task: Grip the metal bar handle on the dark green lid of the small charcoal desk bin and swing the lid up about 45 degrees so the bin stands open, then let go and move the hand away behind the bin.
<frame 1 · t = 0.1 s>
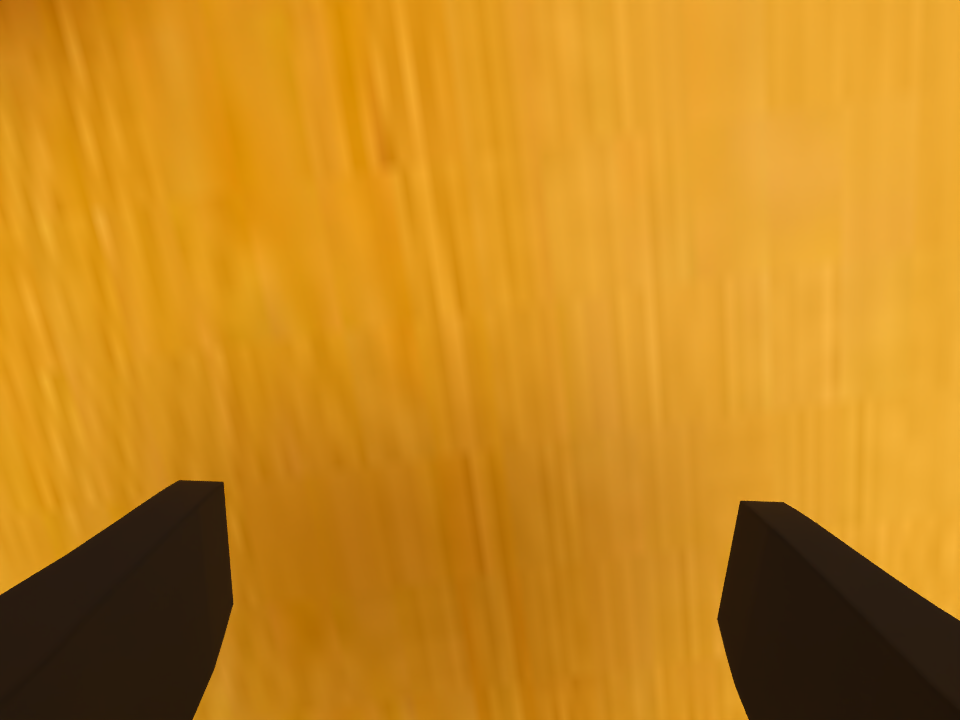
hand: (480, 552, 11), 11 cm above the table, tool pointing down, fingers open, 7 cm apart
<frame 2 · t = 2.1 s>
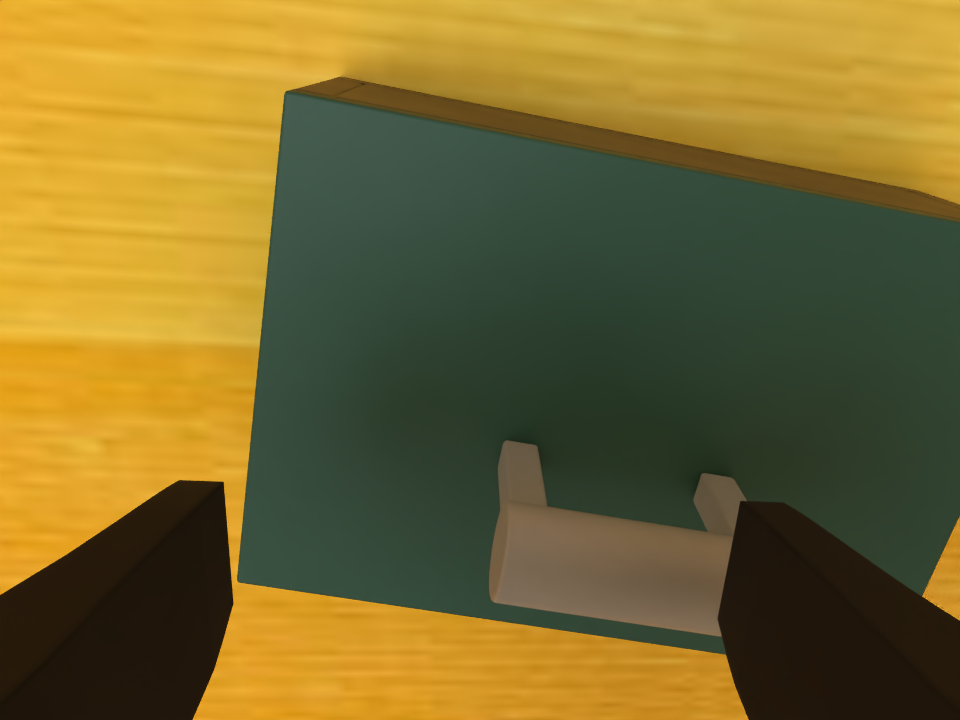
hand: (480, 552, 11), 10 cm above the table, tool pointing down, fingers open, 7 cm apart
desk bin: (591, 318, 21), on the table
bin lid: (646, 472, 14), point 8 cm above the table, hinge at 0.0°
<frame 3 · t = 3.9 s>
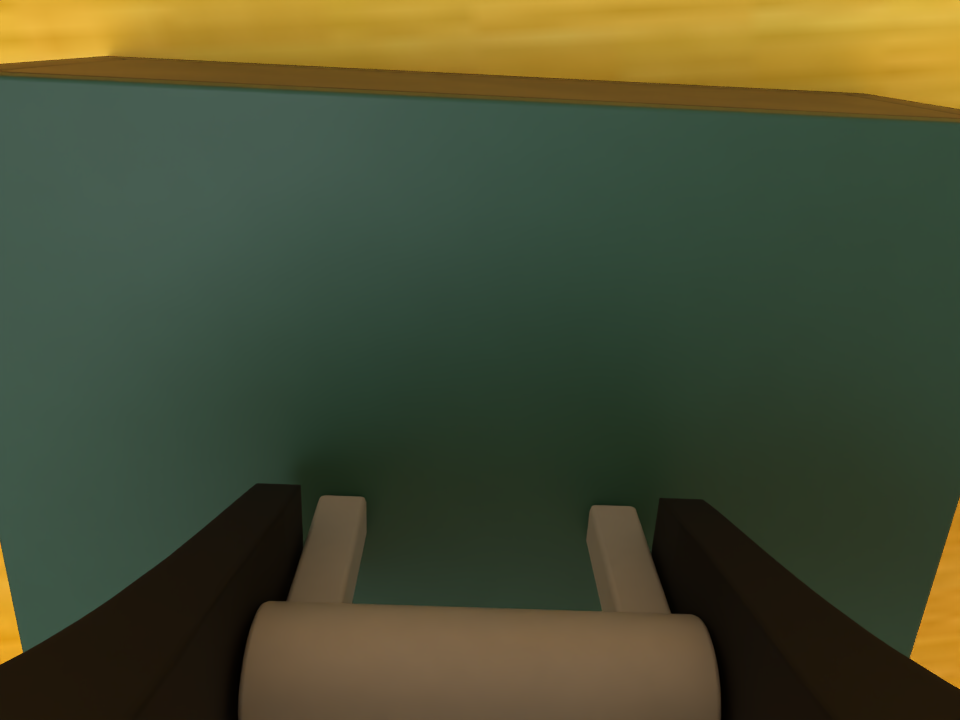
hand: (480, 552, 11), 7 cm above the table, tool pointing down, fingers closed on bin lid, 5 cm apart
desk bin: (478, 311, 17), on the table
bin lid: (482, 528, 10), point 8 cm above the table, hinge at 0.0°, touching gripper
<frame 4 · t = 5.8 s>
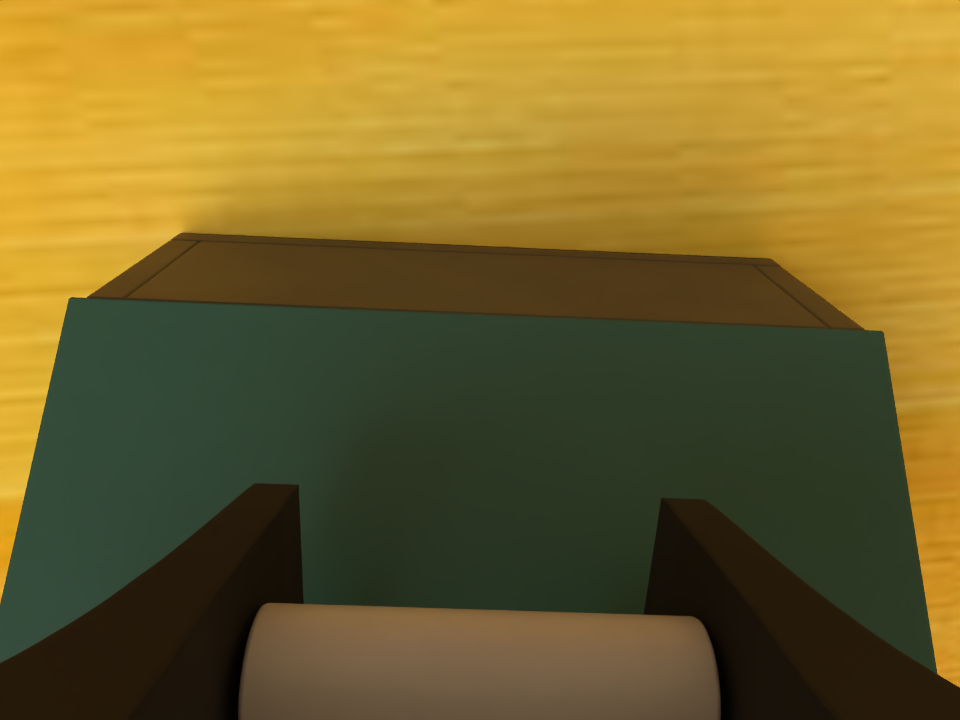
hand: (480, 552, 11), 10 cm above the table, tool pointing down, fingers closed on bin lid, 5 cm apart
desk bin: (470, 419, 22), on the table
bin lid: (477, 601, 11), point 10 cm above the table, hinge at 42.2°, touching gripper
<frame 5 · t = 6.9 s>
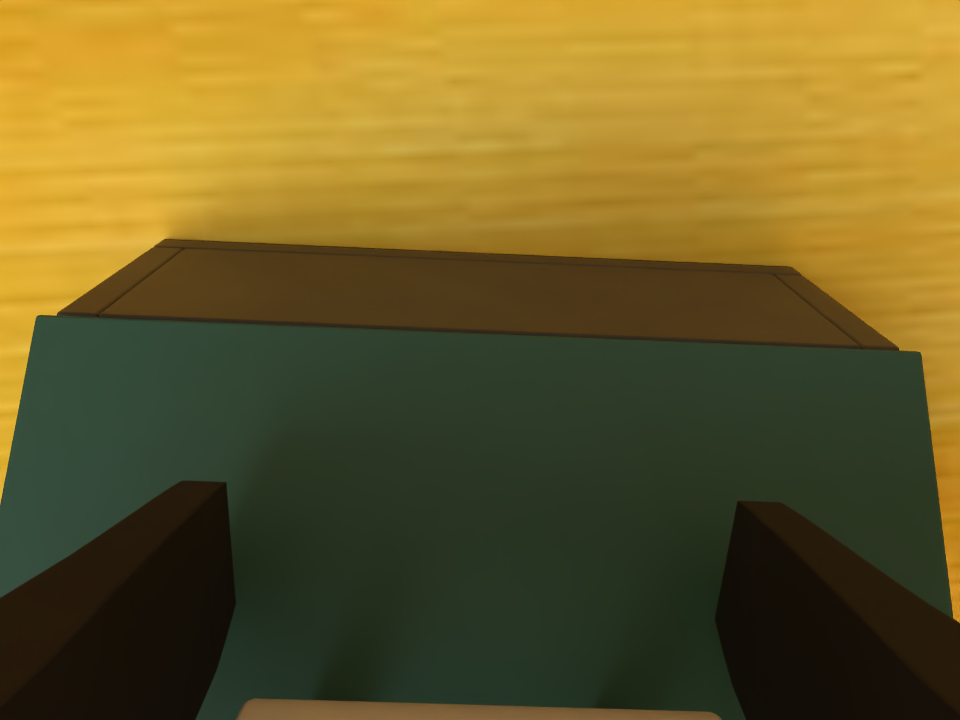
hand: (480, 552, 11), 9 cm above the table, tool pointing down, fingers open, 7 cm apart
desk bin: (471, 435, 20), on the table
bin lid: (479, 671, 10), point 10 cm above the table, hinge at 38.0°
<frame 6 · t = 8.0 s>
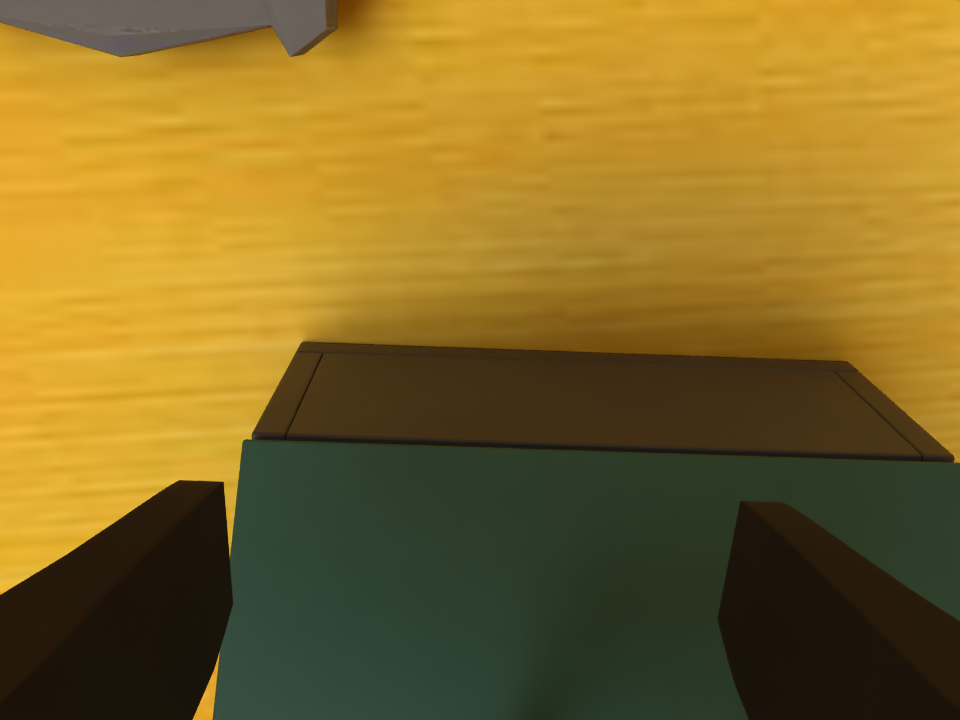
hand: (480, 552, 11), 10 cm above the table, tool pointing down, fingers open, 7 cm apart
desk bin: (562, 505, 23), on the table
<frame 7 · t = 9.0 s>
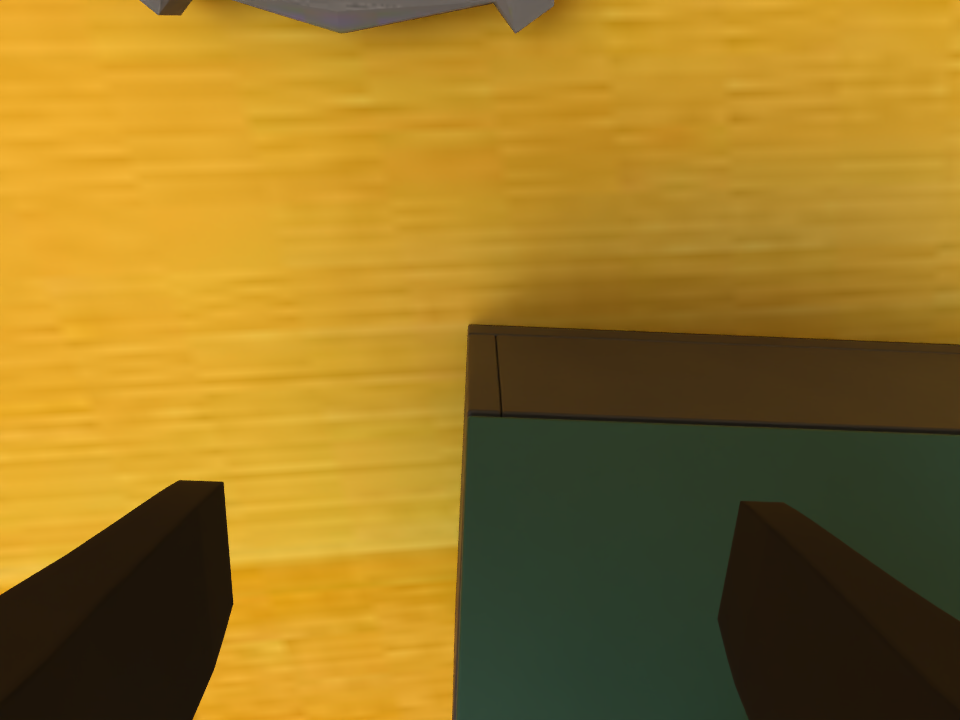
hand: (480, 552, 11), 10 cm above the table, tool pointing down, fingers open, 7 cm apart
desk bin: (714, 490, 23), on the table
bin lid: (913, 719, 13), point 10 cm above the table, hinge at 38.0°
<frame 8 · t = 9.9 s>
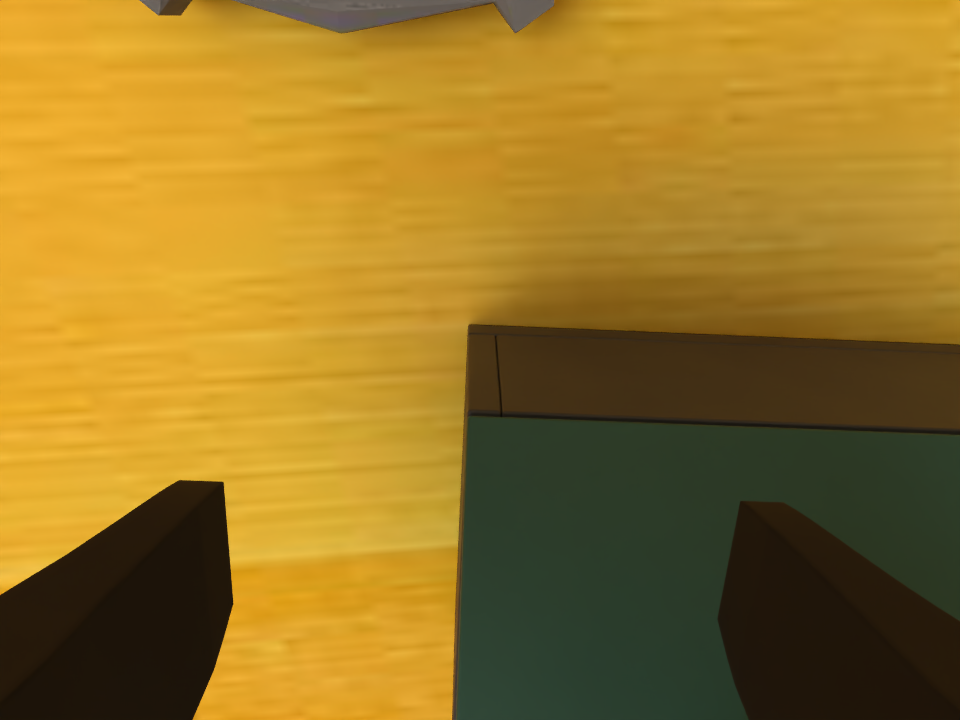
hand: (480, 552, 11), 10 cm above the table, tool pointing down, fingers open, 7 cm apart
desk bin: (714, 490, 23), on the table
bin lid: (913, 719, 13), point 10 cm above the table, hinge at 38.0°
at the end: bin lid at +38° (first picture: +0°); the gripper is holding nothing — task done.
